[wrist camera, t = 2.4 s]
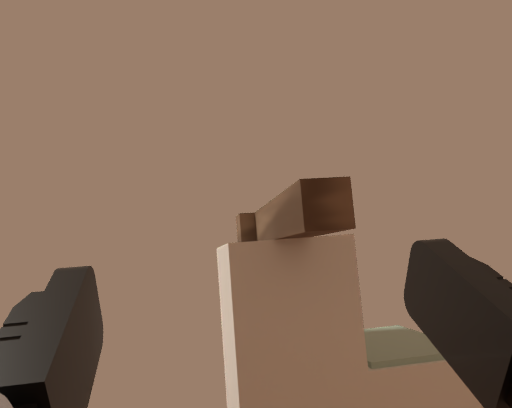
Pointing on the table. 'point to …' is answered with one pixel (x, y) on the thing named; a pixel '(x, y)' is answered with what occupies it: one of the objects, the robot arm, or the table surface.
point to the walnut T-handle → (301, 212)
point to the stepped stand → (319, 334)
